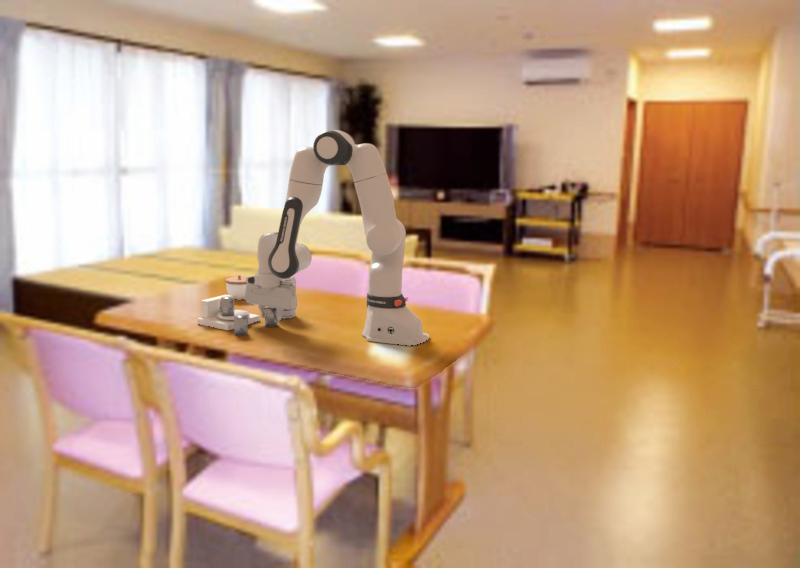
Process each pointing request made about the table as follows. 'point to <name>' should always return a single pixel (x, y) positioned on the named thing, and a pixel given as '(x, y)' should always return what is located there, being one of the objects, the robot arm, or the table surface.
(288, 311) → the supplement can
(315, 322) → the table surface
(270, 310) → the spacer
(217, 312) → the scale
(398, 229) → the robot arm
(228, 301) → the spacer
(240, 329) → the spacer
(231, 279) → the lidded jar
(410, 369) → the table surface
